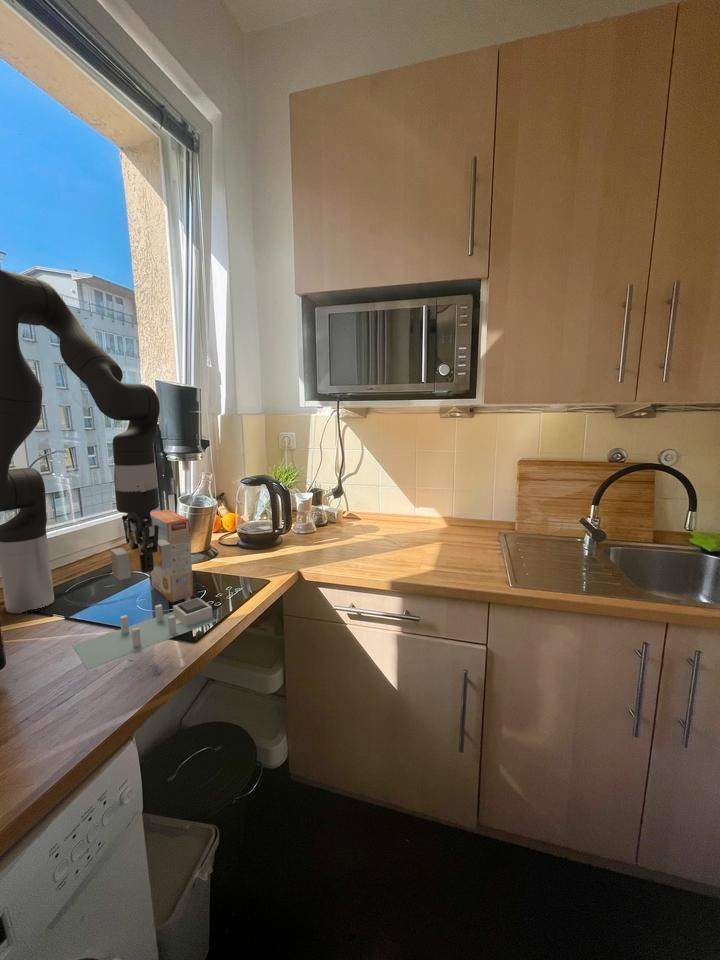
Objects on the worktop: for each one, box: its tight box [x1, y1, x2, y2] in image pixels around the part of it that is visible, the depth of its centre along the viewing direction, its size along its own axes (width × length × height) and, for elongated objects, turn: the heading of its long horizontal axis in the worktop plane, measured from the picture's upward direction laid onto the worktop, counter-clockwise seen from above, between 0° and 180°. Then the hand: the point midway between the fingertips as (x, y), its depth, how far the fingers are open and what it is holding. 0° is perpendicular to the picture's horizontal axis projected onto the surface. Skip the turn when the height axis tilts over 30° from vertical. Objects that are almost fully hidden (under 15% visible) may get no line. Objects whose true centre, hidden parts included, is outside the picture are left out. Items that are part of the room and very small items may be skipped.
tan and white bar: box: [110, 539, 172, 581], centre depth 84 cm, size 4×10×5 cm, turn 136°
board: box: [72, 597, 218, 670], centre depth 87 cm, size 11×25×4 cm, turn 136°
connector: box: [179, 598, 205, 614], centre depth 94 cm, size 4×4×3 cm
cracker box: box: [150, 509, 194, 603], centre depth 106 cm, size 14×6×21 cm, turn 44°
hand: (143, 567), depth 85 cm, fingers closed on tan and white bar, 4 cm apart
